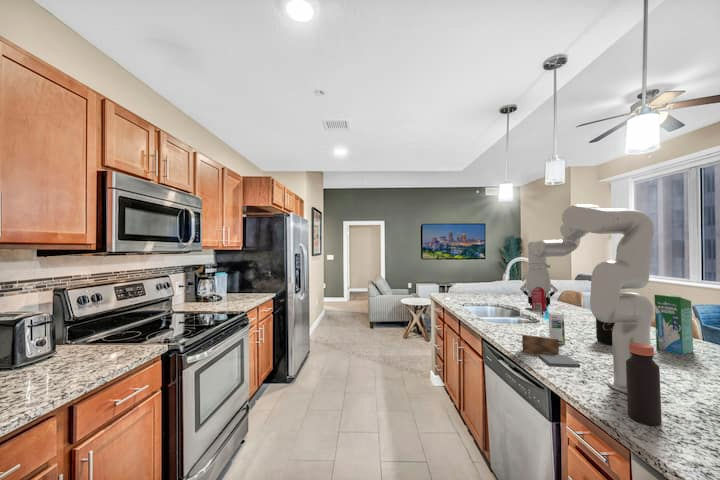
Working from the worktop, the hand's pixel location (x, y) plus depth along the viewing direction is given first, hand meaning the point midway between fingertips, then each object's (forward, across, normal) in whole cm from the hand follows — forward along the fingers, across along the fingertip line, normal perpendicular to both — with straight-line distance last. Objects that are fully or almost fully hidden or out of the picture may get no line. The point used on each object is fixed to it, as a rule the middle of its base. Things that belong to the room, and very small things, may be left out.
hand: (539, 305), depth 146 cm
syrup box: (+20, -7, -14) cm, 26 cm away
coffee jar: (+20, -30, -25) cm, 44 cm away
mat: (+20, -6, +16) cm, 27 cm away
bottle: (+21, -23, +57) cm, 65 cm away
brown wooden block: (+20, 0, +7) cm, 21 cm away
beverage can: (+3, 0, 0) cm, 3 cm away
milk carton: (+20, -53, -23) cm, 61 cm away
